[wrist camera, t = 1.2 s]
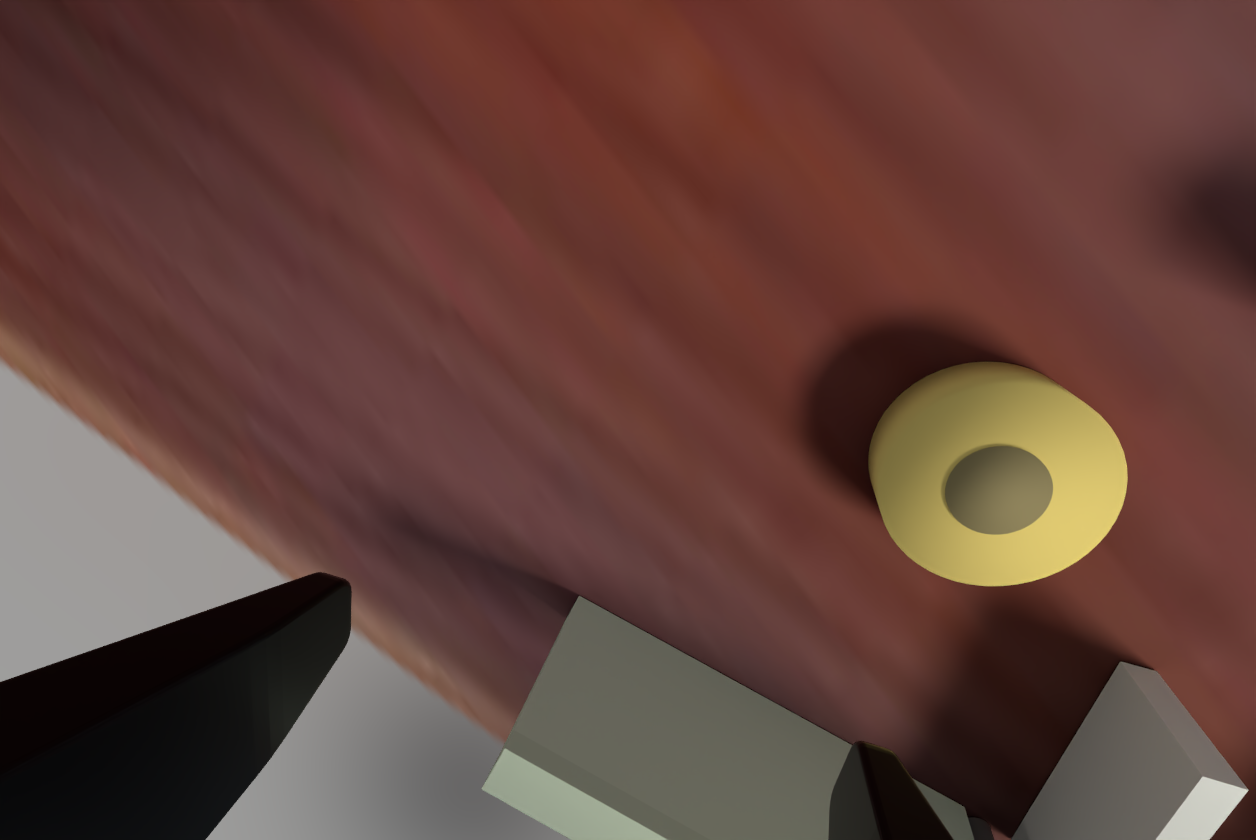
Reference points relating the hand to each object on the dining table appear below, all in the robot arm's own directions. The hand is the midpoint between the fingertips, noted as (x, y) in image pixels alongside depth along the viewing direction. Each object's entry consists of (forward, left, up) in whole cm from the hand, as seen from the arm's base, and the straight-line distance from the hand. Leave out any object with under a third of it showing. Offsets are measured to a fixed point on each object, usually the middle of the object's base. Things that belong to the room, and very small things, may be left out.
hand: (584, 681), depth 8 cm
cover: (-11, -5, -12) cm, 17 cm away
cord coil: (0, -8, -12) cm, 14 cm away
